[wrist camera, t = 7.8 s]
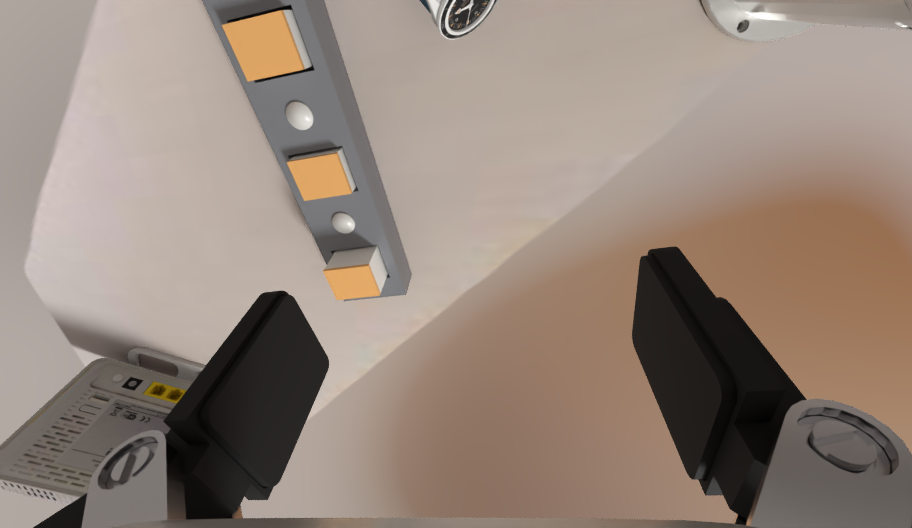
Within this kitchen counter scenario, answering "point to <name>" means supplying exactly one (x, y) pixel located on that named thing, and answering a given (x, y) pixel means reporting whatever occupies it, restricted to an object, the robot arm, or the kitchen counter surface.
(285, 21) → the on switch
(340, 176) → the middle switch
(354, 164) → the power strip
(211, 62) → the kitchen counter surface
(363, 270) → the switch
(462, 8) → the watch
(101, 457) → the network device
